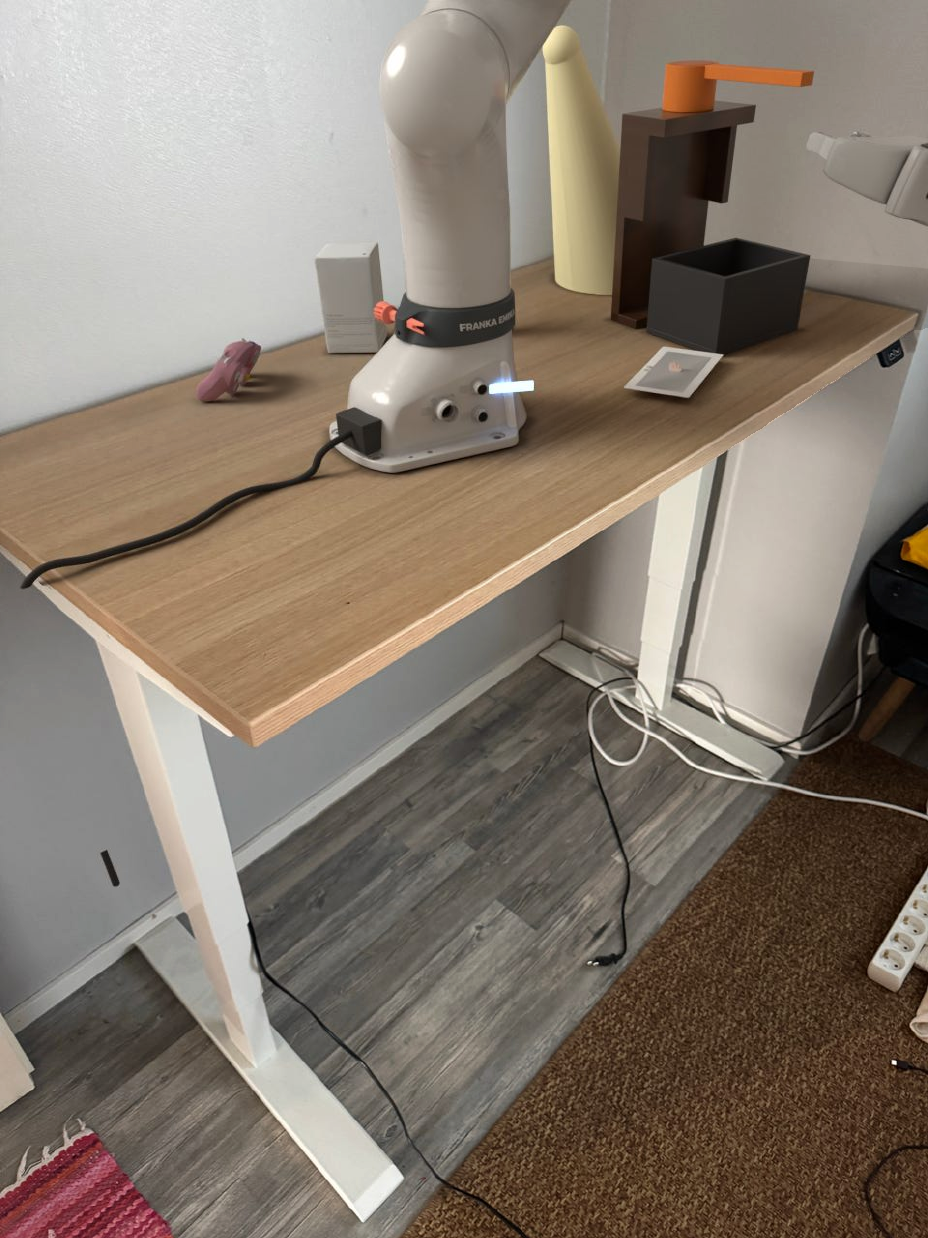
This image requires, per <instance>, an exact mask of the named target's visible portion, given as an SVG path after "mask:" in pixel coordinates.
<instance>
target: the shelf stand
mask: <svg viewBox="0 0 928 1238" xmlns="http://www.w3.org/2000/svg"><path fill="white" fill-rule="evenodd" d="M756 107H757V104H752V103H751V104H750V103H742V102H734V101H733V102H732V101H723V100H715V102H714V109H712V110H710V111H704V112H669V111H665V110H663V109H662V108H663V107H658V108H657V107H656V108H651V109H644V110H643V109H642V110H637V111H630V112H623V113H622V114H621V130H620V131H621V132H620V146H619V148H620V164H619V181H618V199H617V216H616V234H615V251H614V269H613V286H612V295H611V303H610V304H611V306H610V320H611V321H613V322H615V323H618V324H621V325H624V326H627V327H629V328H632V329H635V330H637V329H640V328H644V327H647V318H648V306H649V293H650V281H651V268H652V259H653V258H657V257H661V256H665V255H669V254H673V253H677V252H681V251H685V250H689V249H693V248H697V247H700V246H704V245H705V237H706V227H707V219H708V211H709V202H712V203H716V204H726V203H728V202H729V196H730V188H731V180H732V170H733V163H734V156H735V155H734V154H735V148H736V147H735V146H736V137H737V130H738V126H741V125H746V124H747V125H748V124H752V123H754V122H755V115H756Z"/></svg>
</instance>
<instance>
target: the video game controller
mask: <svg viewBox="0 0 928 1238" xmlns="http://www.w3.org/2000/svg"><path fill="white" fill-rule="evenodd" d="M261 351H262V346H261V345H259V344H258V343H256V342H254V341H253V340H252V341H251V340H246V339H245V338H244V337H242V338H241V340H237V341H234V342H231V343H229V344H227V346H225V348H224V350H223V353H222V355H221V356H220V357H219V358H218V360H217V362H216V363H215V364H214V366H213V368H212V370H211V371H210V372H209V373H208V375H207V376H206V377H204V378H203V379H202V380H201V381H199V383H198V385H197V387H196V388H195V395H196V397H197V399H198V400H199V401H201V402H204V403H207V402H211V401H215V400H216V399H218V398H220V397H221V396H222V395H223V394H224V393H227V394H229V395H231V396H233V395H235V393H236V392H237V390H238V388H239V386H240V385H241V386H244V385H245V384H246V383H247V382H248V381H249V380H250V378H251V376H250V374H251V373H252V370H253V369H254V367H255V365H256V364H257V362H258V360H259V358H260V355H261Z"/></svg>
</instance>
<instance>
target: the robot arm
mask: <svg viewBox="0 0 928 1238" xmlns="http://www.w3.org/2000/svg"><path fill="white" fill-rule="evenodd" d="M572 1H573V0H427V1H426V3H425V5H424V8H423V9H422V11H421V12H420V14H419V16H418V17H417V18H415V19H413V20H411V21H410V22H408V23H407V24H406V25H404V26H403V27H402V28H401V29H399V31H398V32H397V33H396V34H395V35H394V36H393V38H392V39H391V41H390V43H389V44H388V46H387V48H386V51H385V52H384V55H383V59H382V61H381V66H380V71H379V79H378V81H379V82H378V93H379V102H380V107H381V111H382V117H383V124H384V132H385V138H386V144H387V152H388V158H389V163H390V164H389V165H390V169H391V174H392V179H393V185H394V189H395V194H396V199H397V206H398V212H399V221H400V230H401V231H400V232H401V245H402V255H403V270H404V271H403V272H404V285H405V292H404V294H403V295H402V298H401V301H400V304H399V307H396V306H395V305H394V304H390V303H389V302H387V301H381V302H379V303H377V304H376V306H378V307H376V308H374V310H375V312H374V314H375V318H378V319H377V320H379V321H382V322H384V323H386V325H391V324H394V327H393V334H392V335H391V337H390V338H389V339H388V340H387V341H386V342H384V344H383V345H382V347H381V349H380V350H379V351H378V352H377V353H375V354H374V356H373V357H372V358H371V359H369V361H368V362H367V363H366V364H365V365H364V366H363V367H362V368H361V369H360V371H358V372H357V374H355V375H354V376H353V377H352V380H351V381H350V383H349V388H348V393H347V409H344V410H343V411H338V412H337V413H335V417H336V420H335V421H333V422H331V423H330V424H329V431H328V433H329V441H327V442H326V443H325V444H324V445H322V446H321V447H320V449H319V450H318V451H317V452H316V454H315V456H314V458H313V462H312V463H311V467H310V468H309V469H307V470H306V471H305V472H304V473H302V474H300V475H299V476H296V477H294V478H290V479H288V480H282V481H277V482H271V483H264V484H257V485H252V486H249V487H246V488H243V489H239V490H237V491H236V492H233V493H231V494H229V495H227V496H225V497H223V498H222V499H220V500H219V501H217V502H216V503H214V504H212V505H211V506H210V507H208V508H207V509H205V510H204V511H202V512H201V513H199V514H197V515H196V516H194V517H192V518H190V519H189V520H186V521H185V522H184V523H181V524H178V525H177V526H174V527H172V528H169V529H166V530H164V531H161V532H157V533H155V534H153V535H152V534H151V535H149V536H146V537H143V538H140V539H136V540H133V541H129V542H125V543H122V544H119V545H116V546H115V545H114V546H112V547H108V548H106V549H102V550H98V551H95V552H92V553H89V554H84V555H78V556H72V557H63V558H58V559H53V560H48V561H47V562H46V561H45V562H43V563H41V564H39V565H37V566H36V567H35V568H34V569H32V570H31V571H30V572H29V573H28V574H27V575H26V577H25V578H24V580H23V581H22V582H21V585H20V587H19V588H20V590H25V589H29V588H30V587H32V585H33V584H34V583H35V581H36V580H37V579H38V578H39V577H40V576H42V575H43V574H45V573H47V572H49V571H51V570H55V569H59V568H65V567H71V566H78V565H79V566H80V565H85V564H90V563H93V562H97V561H101V560H104V559H107V558H111V557H113V556H118V555H121V554H125V553H128V552H130V551H134V550H137V549H141V548H144V547H147V546H150V545H154V544H157V543H161V542H163V541H165V540H168V539H171V538H173V537H175V536H178V535H180V534H183V533H184V532H187V531H189V530H191V529H193V528H195V527H196V526H198V525H200V524H201V523H203V522H205V521H207V520H208V519H209V518H211V517H213V515H215V514H216V513H218V512H220V511H221V510H222V509H224V508H225V507H228V506H229V505H231V504H232V503H234V502H237V501H238V500H240V499H243V498H245V497H248V496H251V495H254V494H258V493H265V492H271V491H275V490H279V489H283V488H287V487H290V486H295V485H297V484H300V483H303V482H306V481H307V480H309V479H311V478H312V477H313V476H314V475H315V474H317V473H318V472H319V469H320V466H321V463H322V461H323V458H324V456H326V454H328V452H329V451H331V450H332V449H333V448H335V449H336V450H337V451H338V452H340V453H341V454H342V455H343V456H345V457H346V458H348V459H349V460H351V461H352V462H354V463H356V464H357V465H361V466H362V467H365V468H368V469H370V470H374V471H378V472H383V473H390V474H395V473H401V472H406V471H409V470H414V469H419V468H424V467H427V466H431V465H432V466H433V465H435V464H440V463H444V462H449V461H453V460H458V459H462V458H466V457H471V456H475V455H480V454H484V453H489V452H493V451H497V450H502V449H506V448H511V447H514V446H516V445H518V444H519V442H520V435H519V431H520V430H521V428H522V427H523V426H524V424H525V423H526V420H527V411H526V410H525V406H524V403H523V400H522V395H521V392H529V391H534V385H535V384H534V380H522V381H518V376H517V369H516V368H517V367H516V362H515V353H514V352H515V351H514V339H513V333H514V330H515V326H516V295H515V294H516V293H515V290H514V289H513V288H512V283H511V282H512V281H511V279H512V278H511V276H512V272H511V271H512V268H511V265H512V263H511V262H512V260H511V258H512V257H511V254H512V253H511V252H512V251H511V250H512V249H511V244H512V243H511V205H510V204H511V203H510V189H509V174H508V173H509V172H508V171H509V169H508V152H507V117H506V115H507V113H506V110H507V109H506V108H507V104H508V102H509V101H510V100H511V98H512V96H513V95H514V93H515V92H516V90H517V88H518V86H519V85H520V83H521V81H522V80H523V79H524V77H525V76H526V74H527V72H528V70H529V69H530V67H531V66H532V64H533V63H534V61H535V59H536V57H537V55H538V54H539V53H540V51H541V50H542V49H543V45H544V43H545V42H546V40H547V38H548V37H549V35H550V34H551V32H552V30H553V29H554V28H555V27H557V24H558V22H559V21H560V19H561V18H562V16H563V15H564V13H565V11H567V9H568V7H569V5H570V3H571V2H572ZM806 150H807V151H809V152H812V153H813V154H816V155H818V156H819V157H821V158H822V159H824V161H825V162H824V165H823V168H822V173H823V174H824V176H826V177H827V178H828V179H829V180H831V181H832V182H834V183H836V184H838V185H839V186H842V187H844V188H845V189H848V190H849V191H852V192H854V193H856V194H857V195H858V194H859V195H860V196H861V197H864V198H865V199H869V200H871V201H873V202H876V203H878V204H882V205H885V207H884V213H886V214H887V215H890V216H892V217H895V218H899V219H903V220H909V221H913V222H914V223H916V224H917V223H918V224H919V225H923V226H924V227H928V138H926V137H923V136H918V135H894V136H890V135H889V136H888V135H887V136H886V135H885V136H879V135H873V134H870V133H868V132H864V131H854V132H852V133H851V134H850V136H839V137H837V138H835V137H833V135H830V134H827V133H824V132H818V131H814V132H812V133H811V134H810V135H809V138H808V141H807V142H806ZM99 854H100V856H101V858H102V859H101V860H102V862H103V864H104V866H105V869H106V872H107V875H108V876H109V879H110V882H111V885H112V887H115V888H117V887H119V885H121V883H120V880H119V876H118V875H117V872H116V868H115V866H114V863H113V861H112V858H111V856H110V853H109V851H108V849H106V850H103V851H102V852H99Z"/></svg>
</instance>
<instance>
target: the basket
mask: <svg viewBox="0 0 928 1238" xmlns="http://www.w3.org/2000/svg"><path fill="white" fill-rule="evenodd" d="M811 256H812V255H811V254H807V253H804V252H799V251H794V250H791V249H786V248H782V247H778V246H774V245H770V244H765V243H760V242H757V241H752V240H748V239H745V238H744V239H743V238H740V237H734V238H729V239H725V240H721V241H717V242H713V243H709V244H704V246H700V247H697V248H693V249H689V250H685V251H681V252H677V253H673V254H669V255H665V256H661V257H657V258H653V259H652V268H651V281H650V293H649V306H648V318H647V326H646V334H650V335H652V336H654V337H657V338H661V339H663V340H666V341H669V342H671V343H673V344H676V345H677V344H678V345H681V346H683V347H685V348H689V349H690V350H693V351H700V352H708V353H715V354H723V356H724V355H727V354H730V353H733V352H736V351H738V350H741V349H744V348H747V347H750V346H753V345H757V344H760V343H763V342H765V341H769V340H772V339H775V338H778V337H781V336H784V335H786V334H787V335H788V334H790V333H792V332H795V331H798V329H799V323H800V318H801V311H802V306H803V300H804V295H805V289H806V284H807V278H808V273H809V268H810V262H811V261H810V260H811Z"/></svg>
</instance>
